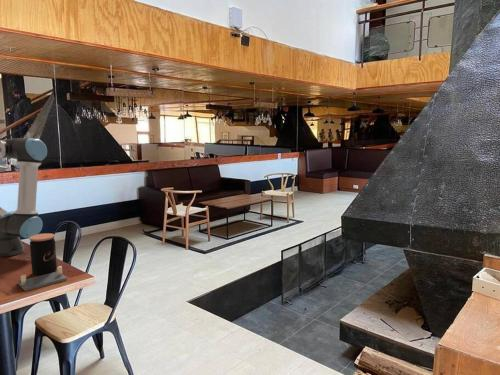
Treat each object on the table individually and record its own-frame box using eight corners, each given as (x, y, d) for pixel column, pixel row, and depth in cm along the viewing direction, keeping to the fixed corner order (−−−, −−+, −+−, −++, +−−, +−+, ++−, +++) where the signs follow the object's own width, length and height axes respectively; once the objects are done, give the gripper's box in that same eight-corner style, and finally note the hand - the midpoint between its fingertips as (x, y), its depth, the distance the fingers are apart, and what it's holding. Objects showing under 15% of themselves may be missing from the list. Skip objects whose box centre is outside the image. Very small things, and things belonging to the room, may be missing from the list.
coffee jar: (46, 277, 172) (43, 240, 169) (26, 275, 174) (23, 238, 171) (61, 268, 182) (59, 234, 179) (43, 267, 184) (40, 232, 181)
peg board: (25, 291, 156) (24, 279, 155) (17, 283, 163) (16, 272, 163) (66, 280, 168) (66, 269, 168) (58, 273, 176) (57, 263, 175)
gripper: (-53, 187, 169) (-12, 214, 182) (-44, 193, 152) (1, 222, 165) (-40, 174, 172) (0, 202, 185) (-29, 179, 155) (14, 209, 168)
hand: (1, 212), depth 175 cm, fingers open, 13 cm apart
